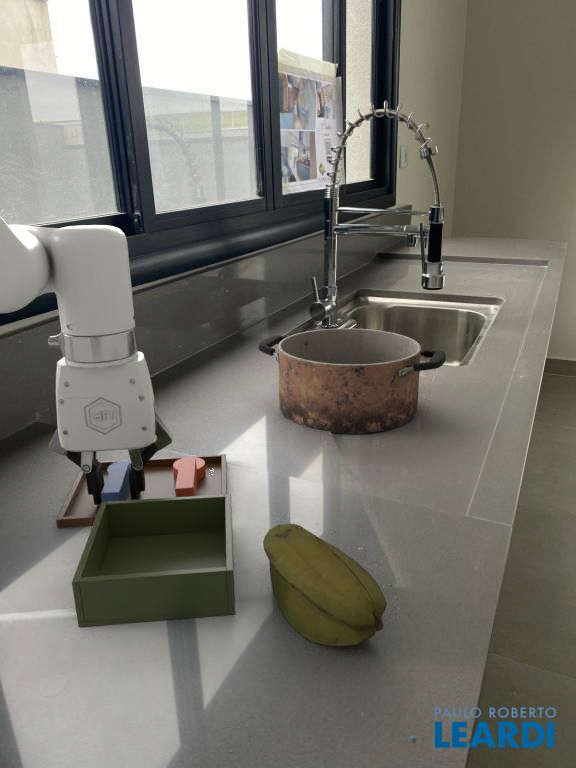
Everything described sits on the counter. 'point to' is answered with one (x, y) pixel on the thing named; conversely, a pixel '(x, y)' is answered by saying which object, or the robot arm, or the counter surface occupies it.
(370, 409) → the cooking pot
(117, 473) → the blue block
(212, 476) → the tray
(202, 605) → the bin
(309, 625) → the fruit
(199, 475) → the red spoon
